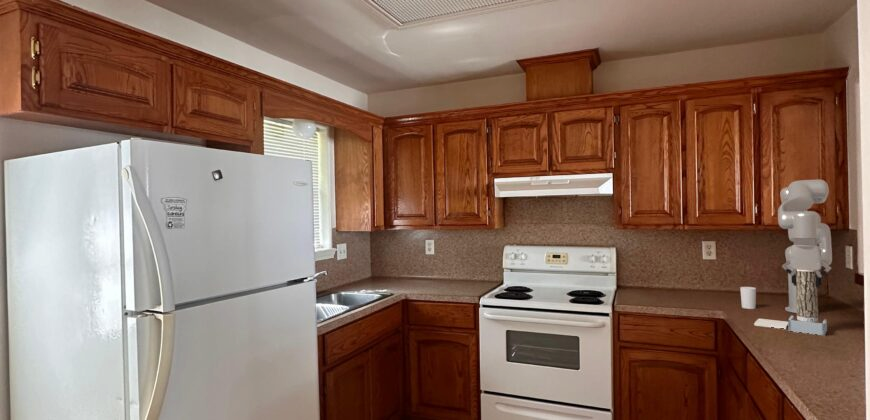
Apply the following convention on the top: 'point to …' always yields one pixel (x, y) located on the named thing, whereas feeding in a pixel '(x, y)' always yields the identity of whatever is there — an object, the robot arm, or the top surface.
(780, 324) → the tile
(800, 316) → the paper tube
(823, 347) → the top surface
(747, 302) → the drinking glass
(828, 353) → the top surface
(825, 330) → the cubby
